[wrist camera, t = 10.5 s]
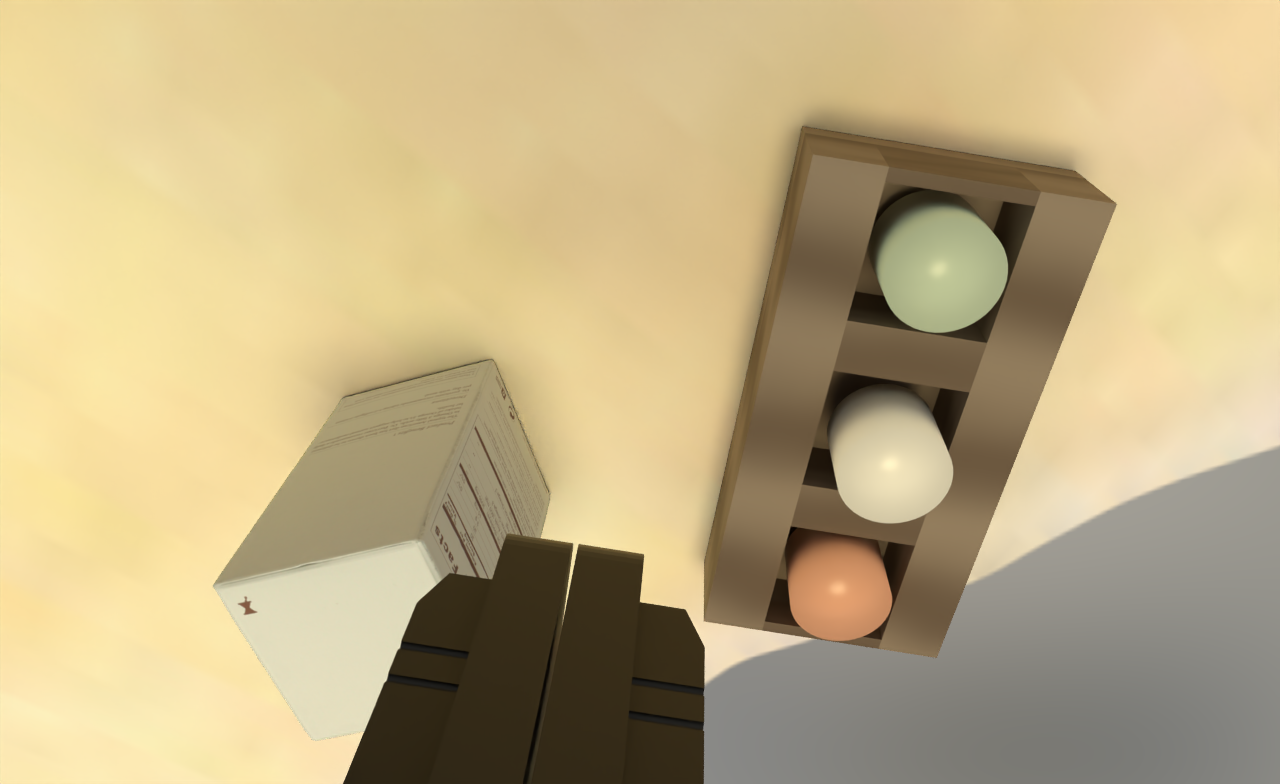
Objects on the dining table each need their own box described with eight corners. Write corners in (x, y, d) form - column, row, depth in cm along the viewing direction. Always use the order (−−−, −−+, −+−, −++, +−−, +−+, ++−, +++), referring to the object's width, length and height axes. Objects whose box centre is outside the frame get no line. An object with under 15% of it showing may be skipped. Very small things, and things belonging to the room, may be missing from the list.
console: (802, 126, 34) (813, 154, 31) (1075, 171, 34) (1117, 204, 31) (704, 561, 44) (703, 621, 40) (918, 595, 44) (936, 657, 40)
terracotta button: (795, 507, 40) (802, 555, 37) (890, 522, 40) (904, 571, 37) (775, 582, 42) (780, 632, 39) (865, 595, 42) (877, 647, 39)
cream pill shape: (841, 376, 35) (852, 419, 32) (947, 393, 35) (968, 437, 32) (816, 466, 37) (824, 513, 34) (917, 482, 37) (934, 531, 34)
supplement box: (406, 530, 44) (304, 748, 33) (339, 393, 41) (200, 584, 30) (556, 498, 43) (502, 715, 32) (499, 354, 40) (417, 539, 28)
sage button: (885, 181, 33) (901, 209, 30) (998, 199, 33) (1025, 229, 30) (856, 287, 35) (869, 322, 32) (963, 304, 35) (985, 341, 32)
